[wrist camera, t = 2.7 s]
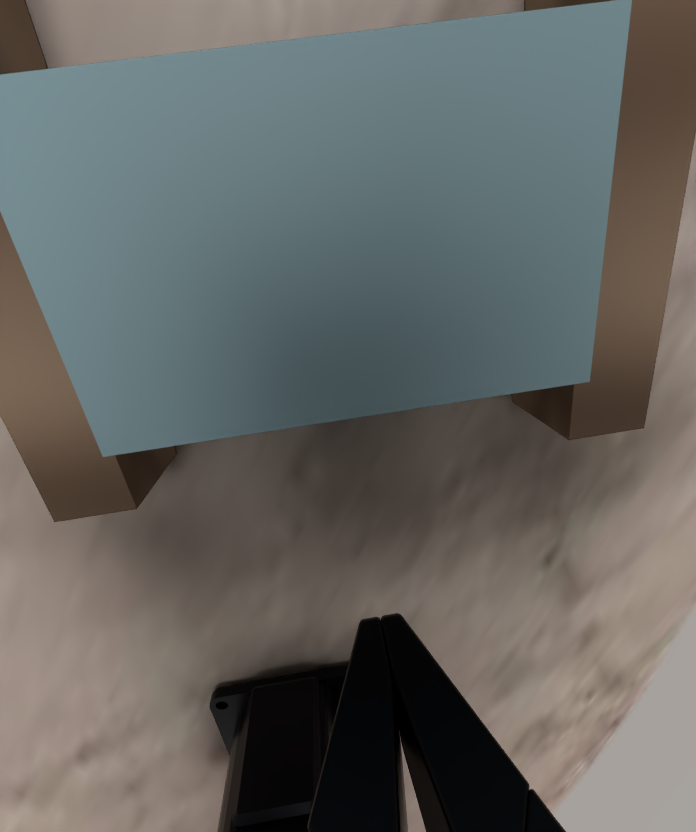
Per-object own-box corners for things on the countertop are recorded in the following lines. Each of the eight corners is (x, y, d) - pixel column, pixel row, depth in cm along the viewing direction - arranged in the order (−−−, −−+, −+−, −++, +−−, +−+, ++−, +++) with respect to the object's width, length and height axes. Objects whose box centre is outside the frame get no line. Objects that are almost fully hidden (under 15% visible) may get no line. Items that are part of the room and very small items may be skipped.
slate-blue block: (501, 344, 12) (589, 381, 8) (171, 394, 11) (102, 456, 8) (506, 103, 9) (632, -2, 6) (95, 156, 9) (-55, 80, 5)
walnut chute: (571, 392, 13) (644, 428, 10) (113, 463, 12) (54, 521, 9) (634, -287, 7) (826, -615, 5) (-163, -211, 7) (-477, -526, 4)
